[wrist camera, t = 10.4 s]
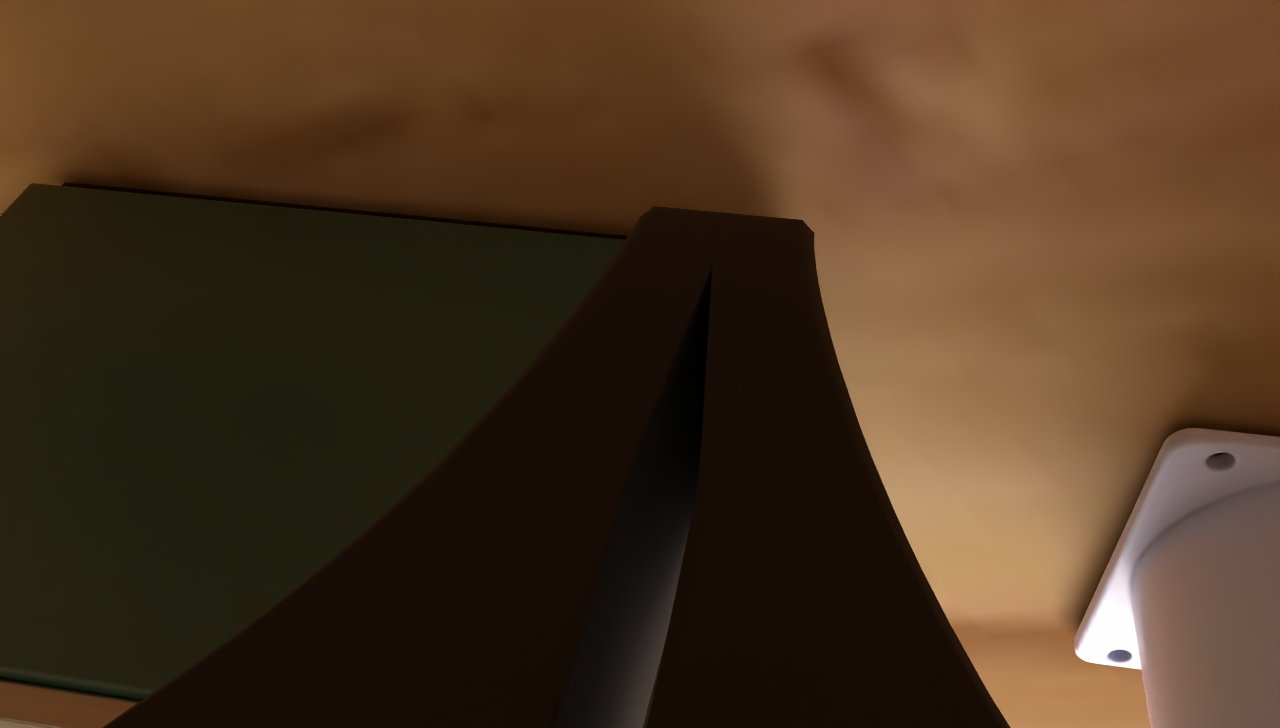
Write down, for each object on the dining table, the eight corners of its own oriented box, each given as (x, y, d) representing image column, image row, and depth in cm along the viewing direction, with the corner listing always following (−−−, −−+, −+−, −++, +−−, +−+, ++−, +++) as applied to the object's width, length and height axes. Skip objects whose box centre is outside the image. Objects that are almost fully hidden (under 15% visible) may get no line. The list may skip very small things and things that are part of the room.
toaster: (798, 237, 21) (727, 841, 13) (767, 537, 27) (706, 1066, 19) (-11, 161, 23) (-491, 642, 15) (134, 456, 29) (-152, 903, 21)
